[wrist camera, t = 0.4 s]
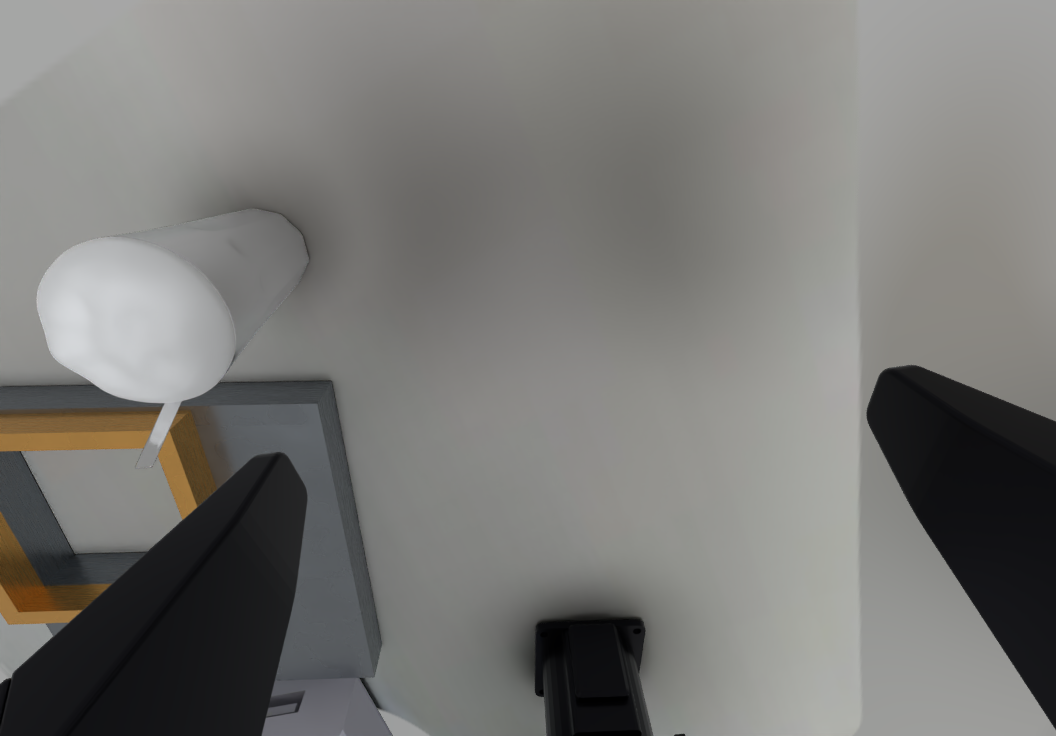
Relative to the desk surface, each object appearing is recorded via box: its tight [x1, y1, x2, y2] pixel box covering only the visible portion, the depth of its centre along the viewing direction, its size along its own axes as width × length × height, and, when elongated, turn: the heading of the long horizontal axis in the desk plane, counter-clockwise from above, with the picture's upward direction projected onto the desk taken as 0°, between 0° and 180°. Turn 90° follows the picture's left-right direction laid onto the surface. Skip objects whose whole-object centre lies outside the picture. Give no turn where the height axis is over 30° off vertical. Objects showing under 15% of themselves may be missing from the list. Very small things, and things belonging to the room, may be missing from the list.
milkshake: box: [37, 208, 309, 469], centre depth 16 cm, size 4×5×10 cm
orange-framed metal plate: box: [0, 381, 382, 681], centre depth 26 cm, size 18×16×4 cm
